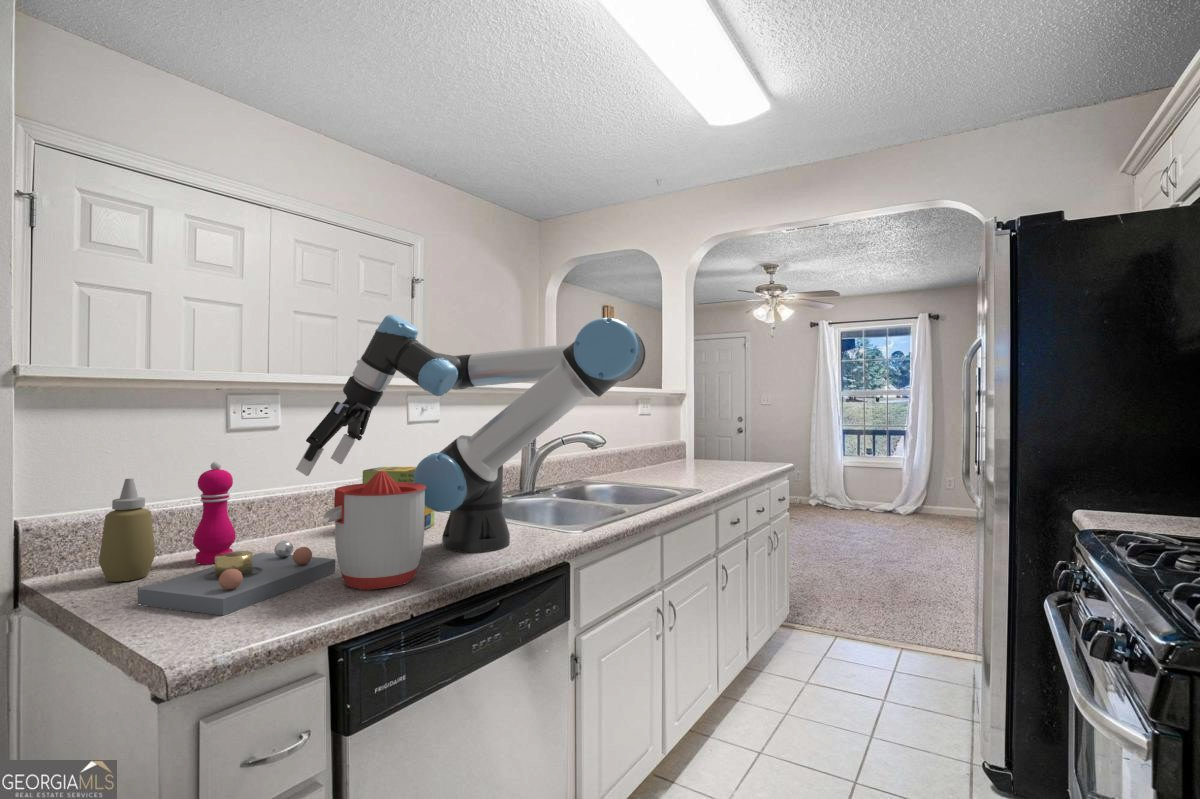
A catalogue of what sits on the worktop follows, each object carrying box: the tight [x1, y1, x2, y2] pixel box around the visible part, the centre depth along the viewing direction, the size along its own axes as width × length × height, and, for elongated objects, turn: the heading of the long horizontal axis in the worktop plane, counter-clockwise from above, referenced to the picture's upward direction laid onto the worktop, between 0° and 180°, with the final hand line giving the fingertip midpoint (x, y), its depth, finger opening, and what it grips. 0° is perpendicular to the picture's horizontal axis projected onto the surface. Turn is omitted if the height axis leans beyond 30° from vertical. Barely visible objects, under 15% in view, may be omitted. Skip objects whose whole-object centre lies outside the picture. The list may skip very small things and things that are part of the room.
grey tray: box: [137, 552, 336, 617], centre depth 102 cm, size 17×24×2 cm
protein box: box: [361, 466, 435, 531], centre depth 151 cm, size 10×15×16 cm
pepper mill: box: [192, 461, 237, 565], centre depth 119 cm, size 7×7×20 cm
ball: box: [273, 540, 294, 558], centre depth 112 cm, size 3×3×3 cm
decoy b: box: [219, 569, 243, 590], centre depth 92 cm, size 3×3×3 cm
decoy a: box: [292, 546, 313, 565], centre depth 107 cm, size 3×3×3 cm
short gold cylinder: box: [214, 550, 254, 577], centre depth 101 cm, size 6×6×3 cm
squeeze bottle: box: [98, 477, 156, 583], centre depth 106 cm, size 8×8×18 cm
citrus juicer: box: [322, 470, 426, 591], centre depth 105 cm, size 16×17×20 cm
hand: (320, 466), depth 127 cm, fingers open, 13 cm apart
